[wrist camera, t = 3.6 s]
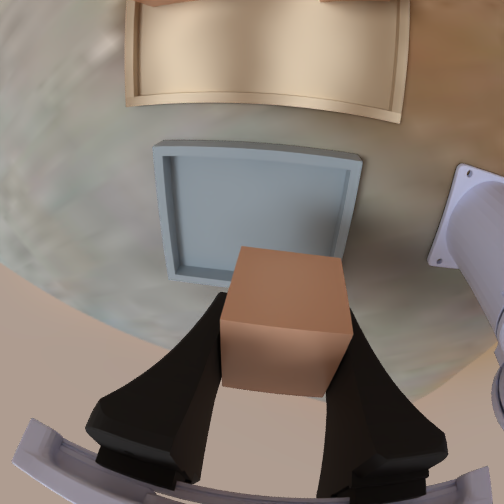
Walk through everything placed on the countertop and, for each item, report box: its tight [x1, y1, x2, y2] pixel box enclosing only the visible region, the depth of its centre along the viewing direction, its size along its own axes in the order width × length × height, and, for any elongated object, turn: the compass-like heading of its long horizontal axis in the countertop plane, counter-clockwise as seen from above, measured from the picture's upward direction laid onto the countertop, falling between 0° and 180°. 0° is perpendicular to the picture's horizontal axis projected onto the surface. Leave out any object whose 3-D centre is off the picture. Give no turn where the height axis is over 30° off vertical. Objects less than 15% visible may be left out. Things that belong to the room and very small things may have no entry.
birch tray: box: [125, 0, 410, 124], centre depth 12 cm, size 16×12×1 cm
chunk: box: [220, 246, 353, 397], centre depth 11 cm, size 4×4×4 cm
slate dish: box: [153, 140, 363, 288], centre depth 19 cm, size 12×10×2 cm
